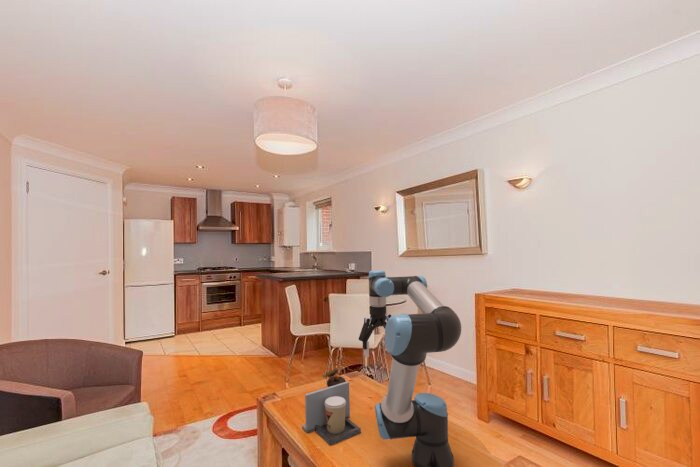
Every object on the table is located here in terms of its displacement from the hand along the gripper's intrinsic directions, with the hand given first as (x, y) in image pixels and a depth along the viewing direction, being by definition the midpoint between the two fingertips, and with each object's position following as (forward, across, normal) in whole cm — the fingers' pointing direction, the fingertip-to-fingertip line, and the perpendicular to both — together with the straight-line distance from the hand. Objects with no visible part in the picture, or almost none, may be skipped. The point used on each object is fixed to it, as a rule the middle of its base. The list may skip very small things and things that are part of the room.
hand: (378, 353), depth 149 cm
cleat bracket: (+32, +18, -8) cm, 37 cm away
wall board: (+32, +18, -16) cm, 40 cm away
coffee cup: (+31, +18, -9) cm, 37 cm away
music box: (+32, +7, -25) cm, 41 cm away
